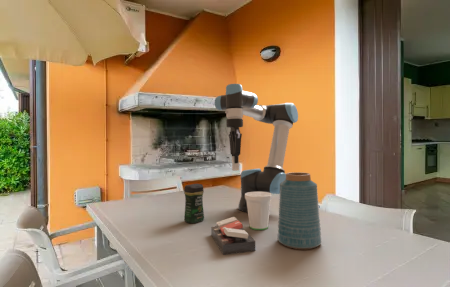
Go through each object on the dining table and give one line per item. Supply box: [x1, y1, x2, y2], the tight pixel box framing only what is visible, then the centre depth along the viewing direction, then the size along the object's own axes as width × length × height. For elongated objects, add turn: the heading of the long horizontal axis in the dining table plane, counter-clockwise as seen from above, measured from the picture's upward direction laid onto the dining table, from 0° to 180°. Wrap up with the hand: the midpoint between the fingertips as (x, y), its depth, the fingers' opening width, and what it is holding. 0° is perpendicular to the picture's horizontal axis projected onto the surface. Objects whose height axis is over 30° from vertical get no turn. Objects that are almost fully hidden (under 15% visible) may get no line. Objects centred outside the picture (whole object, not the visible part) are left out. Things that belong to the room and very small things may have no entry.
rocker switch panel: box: [210, 225, 256, 256], centre depth 110 cm, size 12×28×5 cm, turn 14°
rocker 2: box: [220, 220, 244, 235], centre depth 107 cm, size 8×5×2 cm, turn 104°
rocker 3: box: [224, 228, 249, 238], centre depth 100 cm, size 8×5×2 cm, turn 105°
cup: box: [245, 192, 273, 231], centre depth 124 cm, size 12×12×15 cm
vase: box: [277, 171, 322, 251], centre depth 105 cm, size 16×16×27 cm
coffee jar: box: [183, 183, 205, 224], centre depth 136 cm, size 10×8×19 cm
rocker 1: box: [215, 216, 238, 229], centre depth 113 cm, size 8×5×2 cm, turn 104°
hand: (235, 170), depth 124 cm, fingers closed
